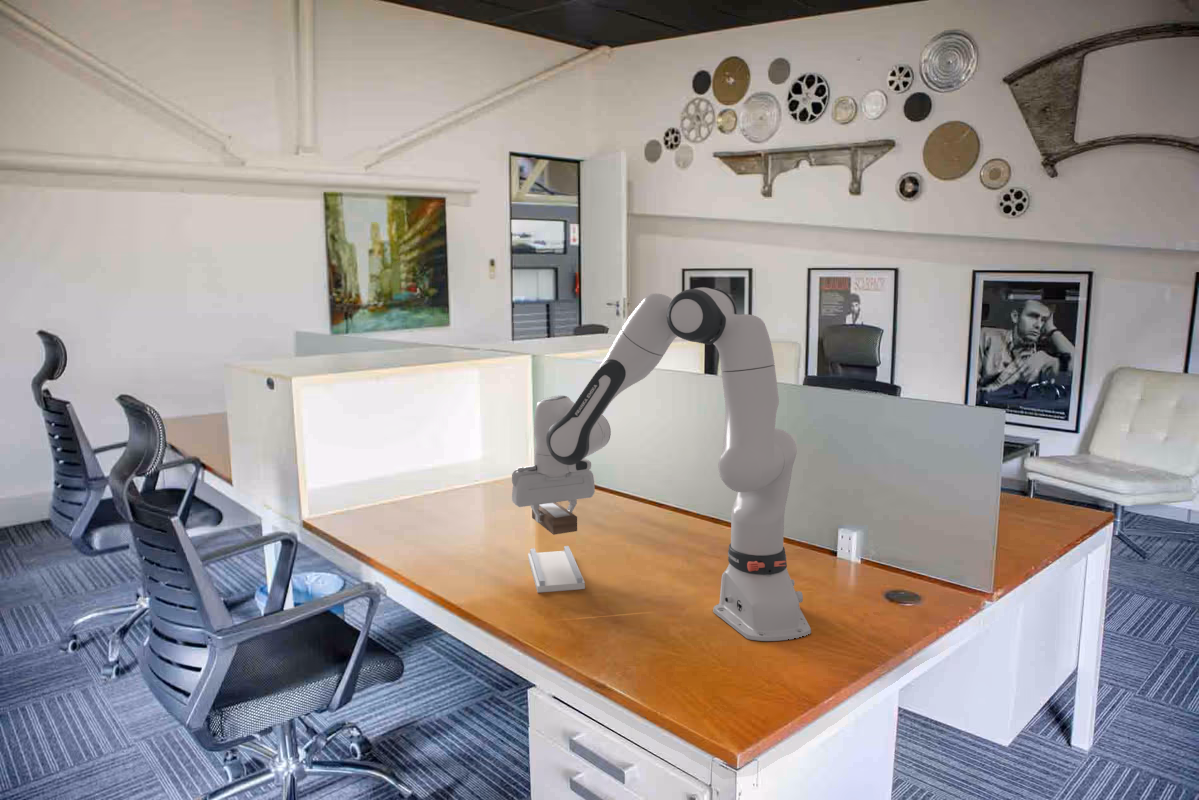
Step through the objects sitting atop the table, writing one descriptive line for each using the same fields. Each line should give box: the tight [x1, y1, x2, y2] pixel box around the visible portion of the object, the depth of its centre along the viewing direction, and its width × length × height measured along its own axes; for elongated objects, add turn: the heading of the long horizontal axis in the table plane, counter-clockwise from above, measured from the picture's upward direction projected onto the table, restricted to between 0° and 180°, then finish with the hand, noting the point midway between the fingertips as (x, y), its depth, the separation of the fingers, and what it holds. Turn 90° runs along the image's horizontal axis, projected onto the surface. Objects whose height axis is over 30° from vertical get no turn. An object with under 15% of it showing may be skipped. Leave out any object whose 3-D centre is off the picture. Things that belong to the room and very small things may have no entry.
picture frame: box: [531, 502, 578, 536], centre depth 197 cm, size 14×6×4 cm, turn 25°
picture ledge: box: [527, 545, 586, 594], centre depth 199 cm, size 22×11×3 cm, turn 10°
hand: (554, 519), depth 197 cm, fingers closed on picture frame, 6 cm apart
